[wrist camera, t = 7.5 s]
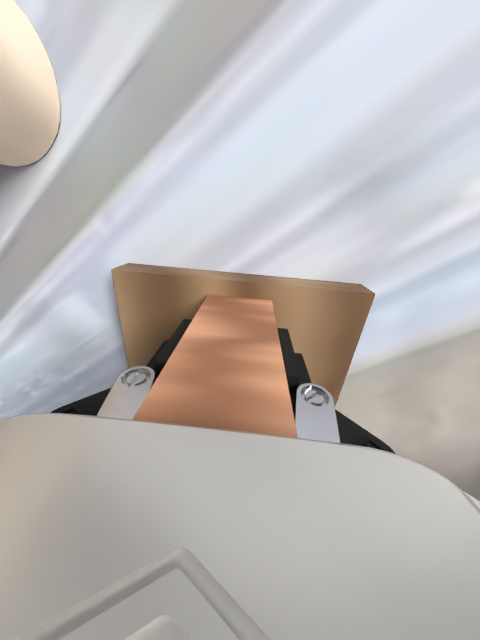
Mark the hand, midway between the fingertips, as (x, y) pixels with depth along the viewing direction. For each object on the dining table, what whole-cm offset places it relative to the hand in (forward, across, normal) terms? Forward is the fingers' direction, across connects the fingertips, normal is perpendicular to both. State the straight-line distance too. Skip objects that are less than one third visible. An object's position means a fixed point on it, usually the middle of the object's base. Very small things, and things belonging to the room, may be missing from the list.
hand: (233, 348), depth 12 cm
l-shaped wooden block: (+3, 0, +7) cm, 8 cm away
